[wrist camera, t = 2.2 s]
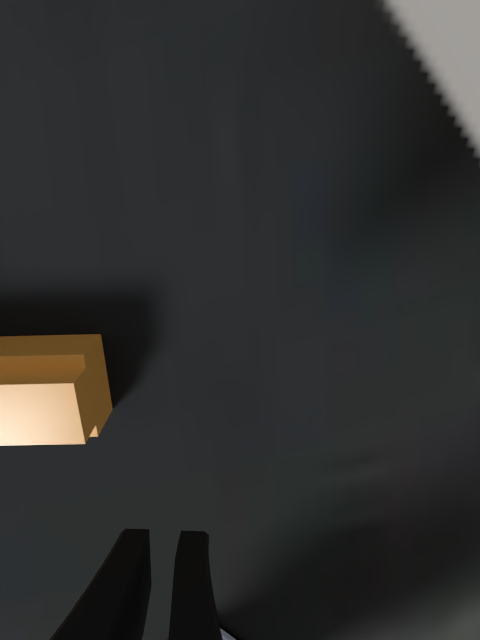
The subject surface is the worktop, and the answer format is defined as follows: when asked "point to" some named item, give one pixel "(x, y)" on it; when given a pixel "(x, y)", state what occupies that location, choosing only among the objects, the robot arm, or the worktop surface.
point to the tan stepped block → (52, 389)
